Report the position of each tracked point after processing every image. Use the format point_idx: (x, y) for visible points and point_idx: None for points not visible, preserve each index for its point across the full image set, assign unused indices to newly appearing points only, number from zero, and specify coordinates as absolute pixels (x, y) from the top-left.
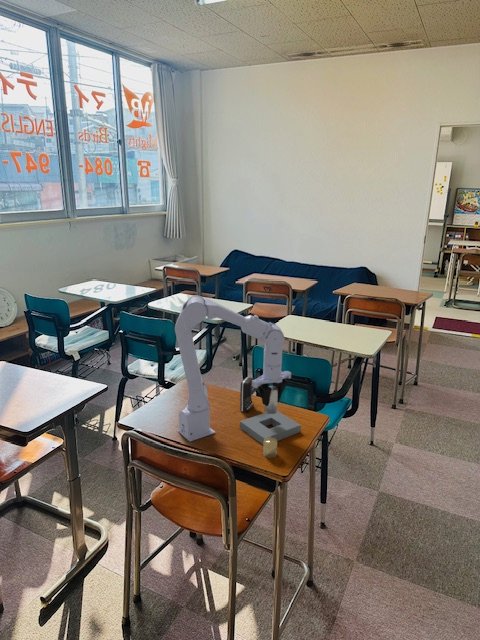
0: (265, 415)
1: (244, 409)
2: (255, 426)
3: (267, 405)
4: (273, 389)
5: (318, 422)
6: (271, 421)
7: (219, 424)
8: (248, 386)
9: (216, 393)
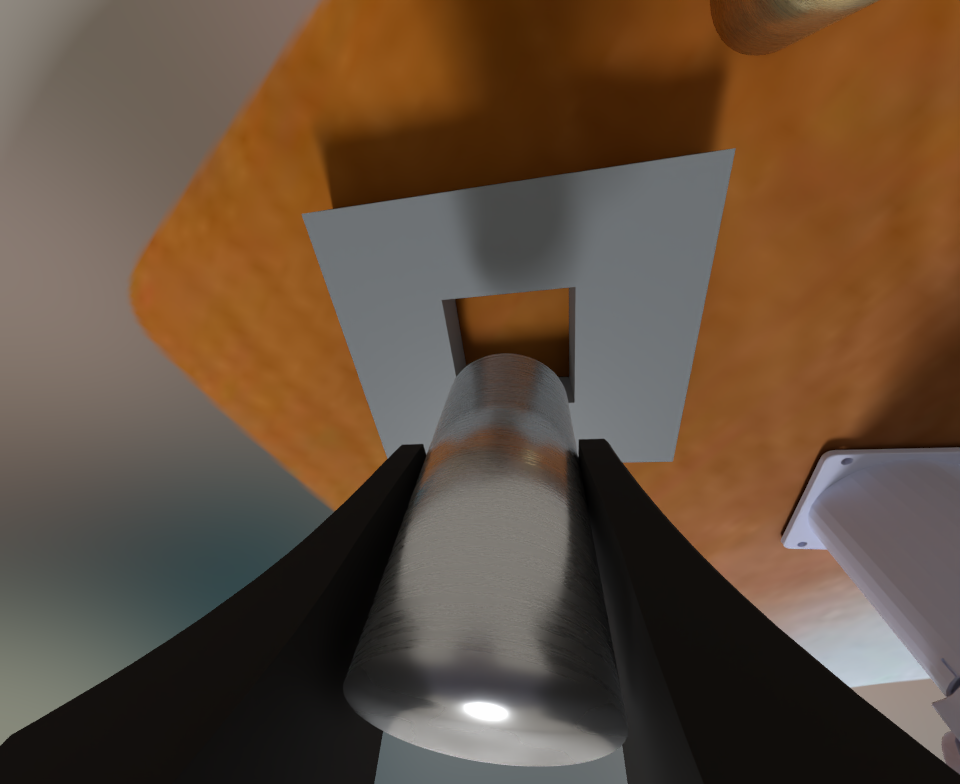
0: None
1: None
2: (638, 364)
3: (595, 441)
4: (475, 695)
5: (169, 261)
6: None
7: (717, 500)
8: None
9: None
